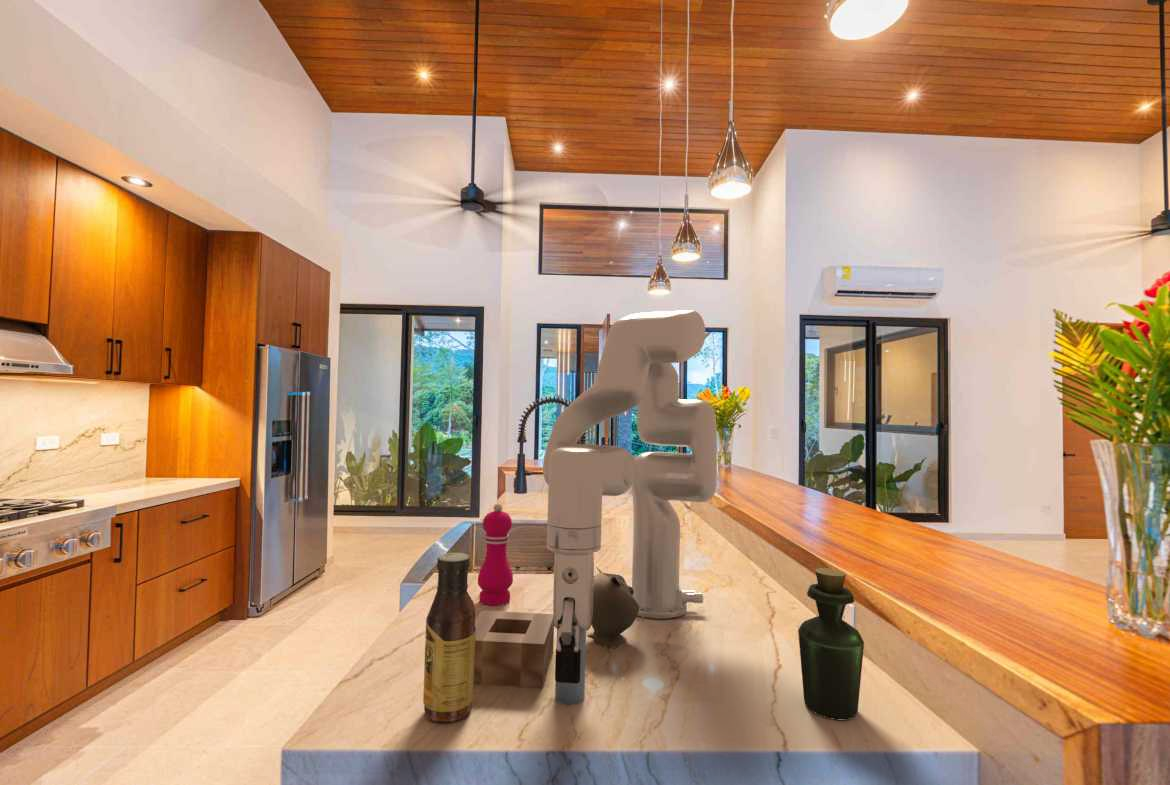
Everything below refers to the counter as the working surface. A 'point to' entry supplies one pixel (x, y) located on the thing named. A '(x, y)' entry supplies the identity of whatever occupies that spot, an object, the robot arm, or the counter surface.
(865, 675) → the counter surface
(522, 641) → the socket block
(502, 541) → the pepper mill
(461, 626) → the sauce bottle
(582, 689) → the peg
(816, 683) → the potion bottle
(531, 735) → the counter surface
